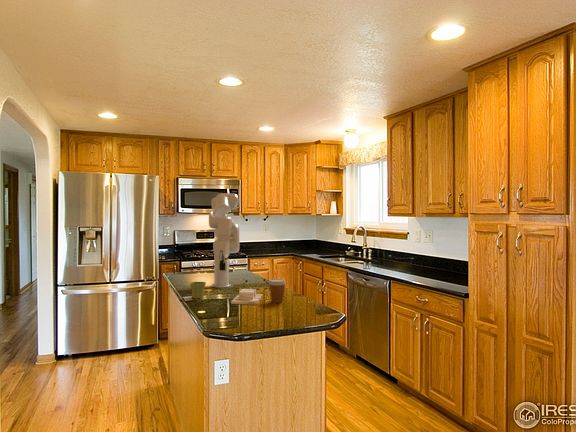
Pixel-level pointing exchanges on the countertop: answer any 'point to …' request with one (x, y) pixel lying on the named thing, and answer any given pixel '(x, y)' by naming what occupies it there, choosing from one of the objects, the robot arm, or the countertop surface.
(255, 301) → the stack base
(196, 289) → the plant pot
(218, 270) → the sage block
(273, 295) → the disposable coffee cup
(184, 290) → the countertop surface
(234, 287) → the countertop surface
